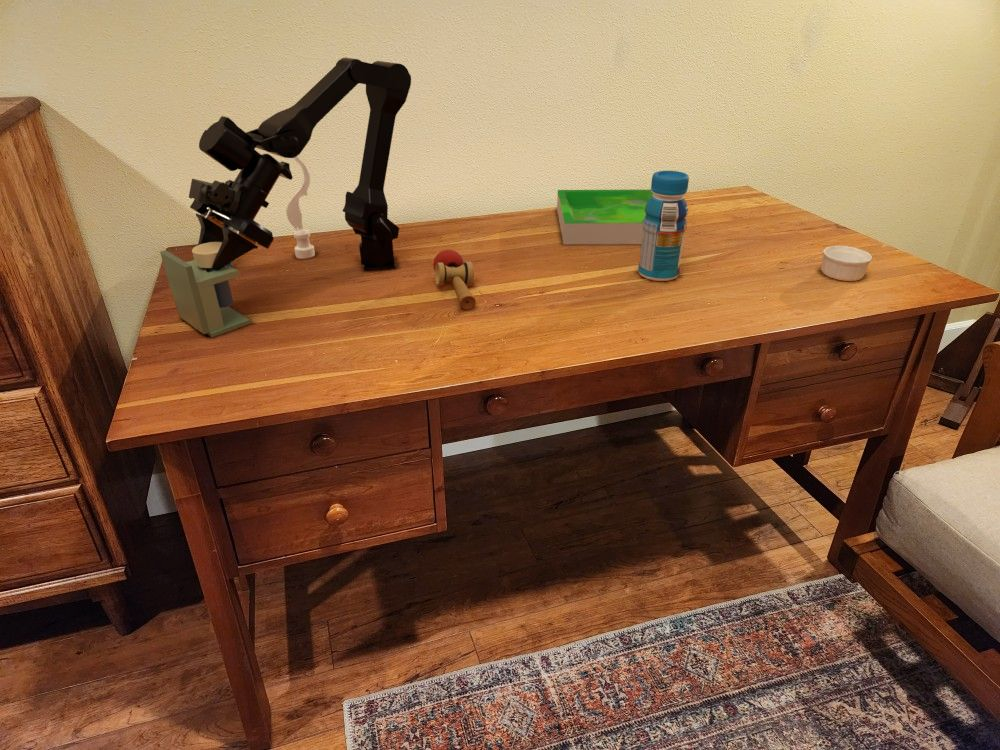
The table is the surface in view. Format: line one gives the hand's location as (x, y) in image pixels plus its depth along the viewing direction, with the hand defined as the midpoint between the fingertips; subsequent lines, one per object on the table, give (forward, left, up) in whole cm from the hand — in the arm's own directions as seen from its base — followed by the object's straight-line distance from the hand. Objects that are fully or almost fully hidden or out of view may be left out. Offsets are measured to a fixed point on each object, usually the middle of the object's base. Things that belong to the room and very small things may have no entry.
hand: (206, 264), depth 114 cm
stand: (+1, +1, -10) cm, 11 cm away
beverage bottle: (-84, -2, -11) cm, 85 cm away
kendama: (-43, -3, -11) cm, 45 cm away
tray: (-85, -32, -11) cm, 92 cm away
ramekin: (-120, +6, -11) cm, 121 cm away
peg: (-1, -1, -8) cm, 8 cm away
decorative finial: (-14, -29, -11) cm, 34 cm away
